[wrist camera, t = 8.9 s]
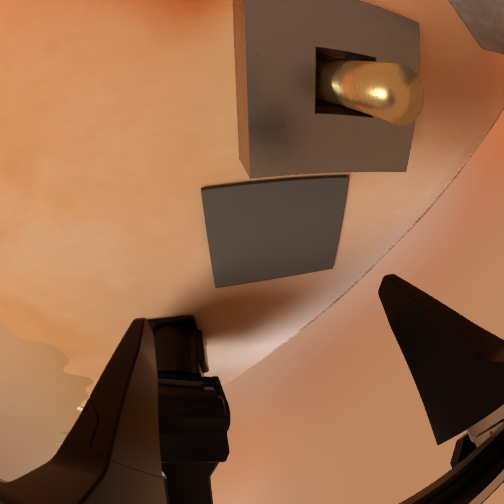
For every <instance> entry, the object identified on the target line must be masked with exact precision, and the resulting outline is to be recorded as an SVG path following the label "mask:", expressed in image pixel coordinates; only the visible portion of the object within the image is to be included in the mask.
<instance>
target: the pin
mask: <svg viewBox="0 0 504 504" xmlns="http://www.w3.org/2000/svg"><path fill="white" fill-rule="evenodd" d="M423 97H424V96H423V88H422V84H421V82H420V80H419V78H418V76H417V75H416V73H415V72H414V71H413V70H412V69H411V68H409V67H407V66H405V65H402V64H396V63H385V62H372V61H316V73H315V98H317V99H321V100H325V101H328V102H332V103H335V104H339V105H342V106H345V107H348V108H352V109H355V110H358V111H361V112H364V113H367V114H369V115H372V116H375V117H378V118H380V119H383V120H386V121H388V122H391V123H393V124H396V125H406V124H409V123H411V122H412V121H414V120H415V119H416V118H417V116H418V115H419V113H420V111H421V109H422V105H423Z"/></svg>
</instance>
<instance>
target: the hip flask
mask: <svg viewBox="0 0 504 504" xmlns="http://www.w3.org/2000/svg"><path fill="white" fill-rule="evenodd" d="M448 1H449V2H450V3H451V5H452V6H453V8H454V9H455V10H456V12H457V13H458V15H459V16H460V18H461V19H462V20H463V22H464V23H465V25H466V26H467V28H468V29H469V30H470V32H471V33H472V35H473V36H474V38H475V39H476V41H477V42H478V43H479V45H480V46H481V47H482V48H483V49H485V50H490V51H494V52H498V53H502V54H504V0H448Z"/></svg>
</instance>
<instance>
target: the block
mask: <svg viewBox="0 0 504 504" xmlns="http://www.w3.org/2000/svg"><path fill="white" fill-rule="evenodd" d="M233 19H234V46H235V71H236V95H237V117H238V139H239V159H240V161H241V163H242V164H243V166H244V168H245V170H246V172H247V174H248V176H249V177H250V179H251V178H262V177H273V176H285V175H299V174H316V173H339V172H406V170H407V165H408V160H409V154H410V148H411V142H412V136H413V129H414V121H415V120H414V121H412V122H411V123H409V124H406V125H396V124H393V123H391V122H388V121H386V120H383V119H380V118H378V117H375V116H372V115H369V114H367V113H364V112H361V111H358V110H355V109H352V108H348V107H345V106H343V107H329V106H315V73H316V53H321V54H328V55H335V56H342V57H345V61H372V62H385V63H396V64H402V65H405V66H407V67H409V68H411V69H412V70H413V71H414V72H415V73H416V75H417V76H418V78H419V23H418V22H415V21H413V20H411V19H408V18H406V17H404V16H401V15H399V14H396V13H394V12H391V11H388V10H386V9H383V8H380V7H377V6H374V5H371V4H368V3H365V2H361V1H358V0H233Z"/></svg>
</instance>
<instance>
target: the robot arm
mask: <svg viewBox="0 0 504 504" xmlns="http://www.w3.org/2000/svg"><path fill="white" fill-rule="evenodd" d="M378 294H379V297H380V300H381V302H382V305H383V308H384V310H385V313H386V316H387V318H388V321H389V324H390V326H391V329H392V331H393V333H394V335H395V337H396V340H397V342H398V344H399V346H400V348H401V351H402V353H403V355H404V357H405V360H406V362H407V364H408V367H409V369H410V371H411V374H412V376H413V379H414V381H415V384H416V386H417V389H418V391H419V394H420V396H421V399H422V402H423V404H424V406H425V410H426V412H427V416H428V418H429V421H430V424H431V427H432V430H433V433H434V436H435V439H436V442H437V445H440V444H442V443H443V442H445V441H447V440H449V439H451V438H453V437H454V436H456V435H458V434H460V433H462V432H463V431H465V430H466V431H467V433H466V434H464V435H463V436H462V437H461V438H459V439H458V440H457V442H456V445H455V449H454V452H453V456H452V459H451V462H450V463H451V466H452V469H451V470H450V471H448V472H447V473H446V474H445V475H443V476H442V477H441V478H439V479H438V480H436V481H435V482H433V483H432V484H430V485H429V486H428V487H426V488H424V489H423V490H421V491H419V492H418V493H416V494H415V495H413V496H411V497H410V498H408V499H406V500H405V501H403V502H401V503H399V504H482V503H483V502H484V501H485V500H486V499H487V498H488V497H489V496H490V495H491V494H492V493H493V492H494V491H495V490H496V489H497V488H498V487H499V486H500V485H501V484H502V483H503V482H504V340H503V339H500V338H499V337H497V336H496V335H494V334H492V333H490V332H488V331H486V330H485V329H483V328H481V327H479V326H478V325H476V324H474V323H473V322H471V321H470V320H468V319H466V318H465V317H463V316H462V315H460V314H459V313H457V312H456V311H454V310H452V309H451V308H449V307H448V306H446V305H444V304H443V303H441V302H440V301H438V300H436V299H435V298H433V297H432V296H430V295H428V294H427V293H425V292H423V291H422V290H420V289H418V288H417V287H415V286H413V285H412V284H410V283H408V282H407V281H405V280H403V279H401V278H400V277H398V276H396V275H395V274H389V275H386V276H384V277H383V280H382V282H381V285H380V287H379V291H378ZM208 371H209V367H208V359H207V351H206V343H205V339H204V336H203V332H202V331H201V330H198V327H197V324H196V320H195V318H194V317H193V316H186V317H178V318H170V319H162V320H153V321H147V320H146V318H137V319H134V320H133V322H132V323H131V325H130V326H129V328H128V330H127V331H126V333H125V335H124V336H123V338H122V340H121V341H120V343H119V345H118V347H117V348H116V350H115V352H114V353H113V355H112V357H111V359H110V360H109V362H108V364H107V366H106V367H105V369H104V371H103V373H102V375H101V376H100V378H99V380H98V382H97V384H96V386H95V387H94V389H93V391H92V393H91V395H90V398H89V399H88V400H87V402H86V404H85V406H84V408H83V410H82V412H81V414H80V415H79V417H78V419H77V421H76V422H75V424H74V426H73V427H72V429H71V430H70V432H69V434H68V435H67V437H66V438H65V440H64V441H63V443H62V445H61V446H60V448H59V450H58V451H57V453H56V454H55V455H54V456H53V458H52V459H51V460H50V461H48V462H47V463H45V464H44V465H42V466H40V467H38V468H37V469H35V470H33V471H31V472H29V473H27V474H25V475H23V476H22V477H19V478H18V479H15V480H13V481H11V482H6V481H4V480H2V479H0V504H213V499H212V490H211V480H210V476H211V475H212V473H213V472H214V470H215V468H216V467H217V465H218V463H219V462H225V461H226V459H227V457H228V454H229V445H228V439H227V431H228V429H229V426H230V410H229V405H228V402H227V400H226V397H225V394H224V392H223V389H222V386H221V383H220V380H219V377H218V376H213V377H204V373H206V372H208Z"/></svg>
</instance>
